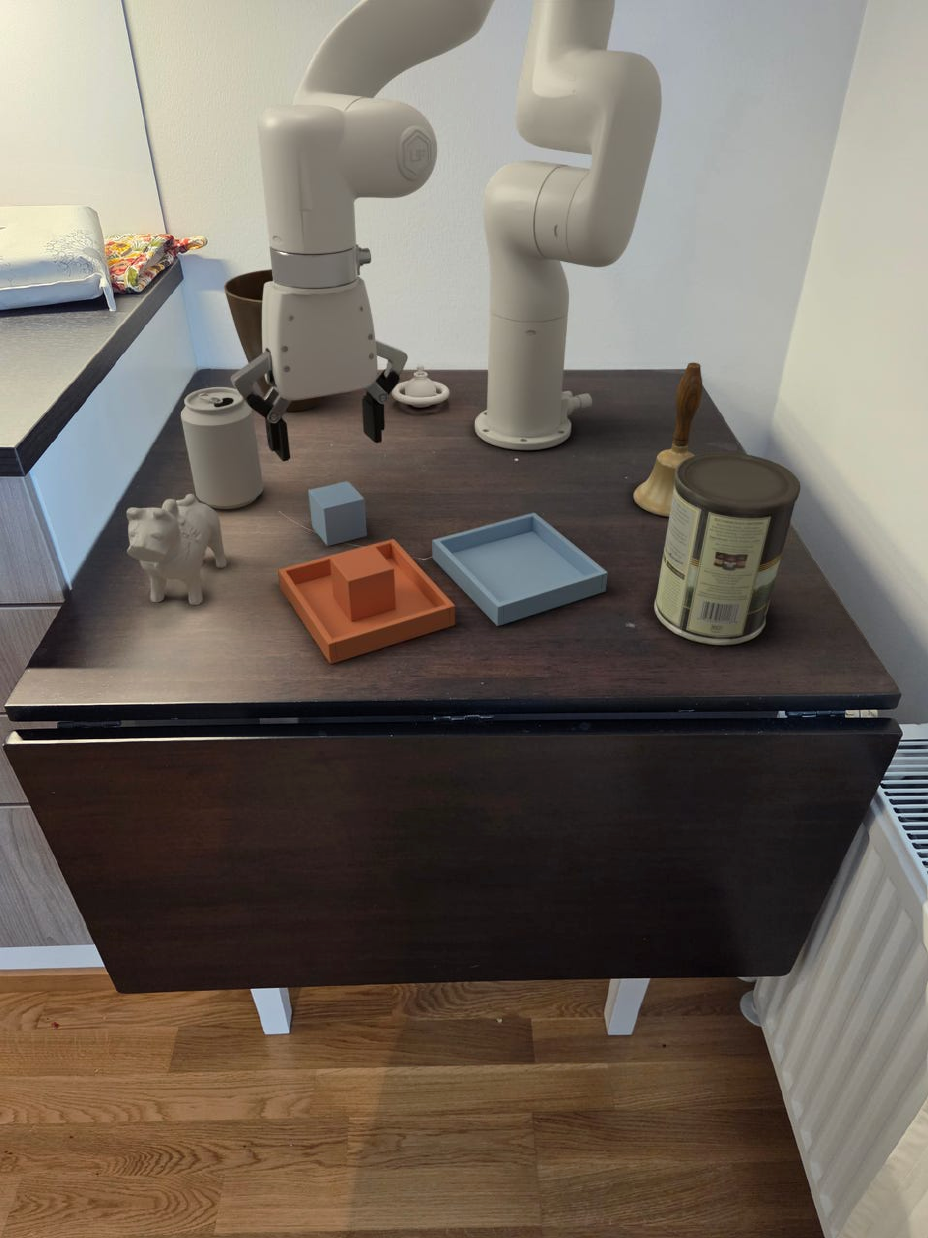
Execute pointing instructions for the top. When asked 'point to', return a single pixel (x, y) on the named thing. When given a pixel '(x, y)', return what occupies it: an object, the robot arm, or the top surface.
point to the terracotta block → (363, 583)
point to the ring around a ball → (420, 390)
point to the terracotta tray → (344, 639)
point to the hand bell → (661, 481)
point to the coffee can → (724, 546)
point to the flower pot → (255, 323)
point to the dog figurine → (175, 543)
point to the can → (222, 447)
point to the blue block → (337, 513)
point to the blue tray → (518, 568)
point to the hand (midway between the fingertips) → (328, 446)
